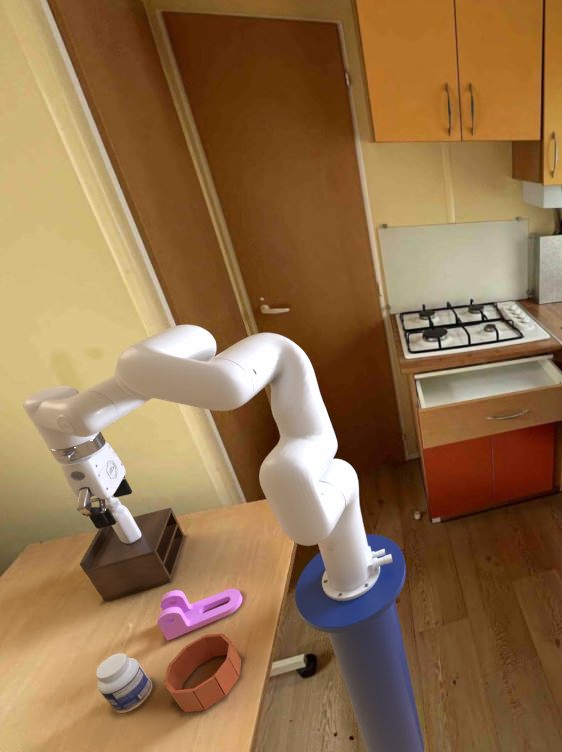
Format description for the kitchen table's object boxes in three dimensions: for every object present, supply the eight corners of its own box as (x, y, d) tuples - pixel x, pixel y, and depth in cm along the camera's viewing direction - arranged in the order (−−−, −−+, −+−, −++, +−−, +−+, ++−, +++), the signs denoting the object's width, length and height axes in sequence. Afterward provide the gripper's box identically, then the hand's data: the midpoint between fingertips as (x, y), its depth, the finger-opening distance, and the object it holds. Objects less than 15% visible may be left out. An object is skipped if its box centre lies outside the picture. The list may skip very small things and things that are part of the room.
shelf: (185, 536, 107) (168, 501, 102) (171, 581, 96) (150, 544, 90) (127, 552, 103) (105, 516, 98) (104, 601, 92) (79, 564, 86)
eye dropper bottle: (145, 524, 98) (123, 484, 93) (140, 541, 94) (117, 500, 88) (121, 531, 96) (97, 491, 91) (115, 549, 92) (90, 508, 86)
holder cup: (243, 643, 84) (234, 624, 81) (236, 697, 75) (226, 678, 72) (185, 664, 80) (173, 646, 77) (170, 723, 72) (157, 705, 69)
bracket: (167, 640, 84) (154, 619, 81) (171, 617, 88) (158, 595, 85) (242, 609, 90) (232, 587, 87) (242, 588, 94) (232, 567, 91)
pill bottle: (111, 698, 75) (86, 667, 71) (148, 673, 79) (127, 642, 74) (118, 721, 72) (92, 690, 68) (156, 694, 76) (134, 663, 71)
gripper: (84, 466, 78) (123, 533, 86) (118, 419, 92) (149, 480, 100) (30, 478, 75) (75, 545, 83) (74, 427, 89) (109, 489, 97)
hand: (115, 509), depth 91 cm, fingers open, 9 cm apart
